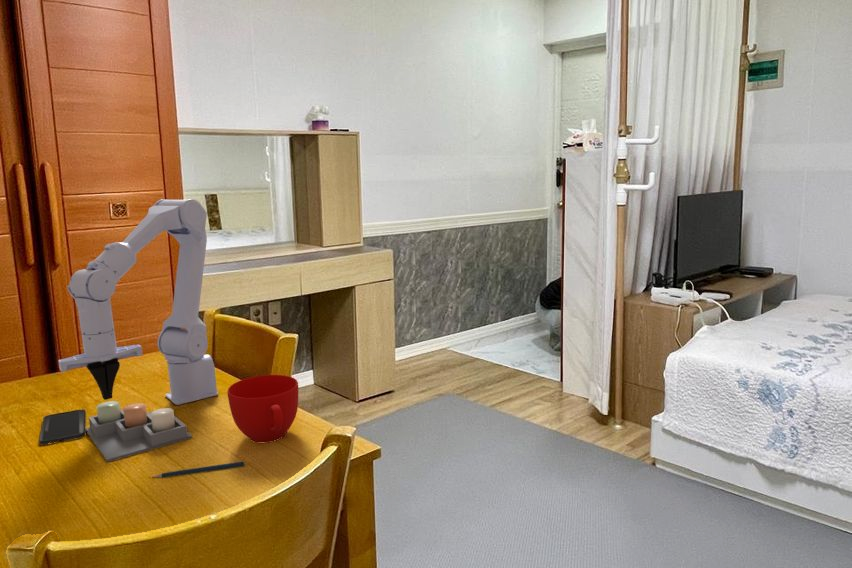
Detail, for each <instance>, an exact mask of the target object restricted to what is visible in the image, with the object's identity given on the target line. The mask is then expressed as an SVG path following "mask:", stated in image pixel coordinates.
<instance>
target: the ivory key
mask: <svg viewBox="0 0 852 568" xmlns="http://www.w3.org/2000/svg"><path fill="white" fill-rule="evenodd" d="M152 411H153V412H152ZM152 411H151V412H152V413H151V420H152V428H153V432H155V433H157V432H161V431H165V430H168V429H172V428H175V420H174V417H175V413H174V409H172V408H171V407H163V408H159V409H156V410H152Z"/></svg>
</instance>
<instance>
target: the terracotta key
mask: <svg viewBox="0 0 852 568" xmlns="http://www.w3.org/2000/svg"><path fill="white" fill-rule="evenodd" d="M146 406H147V405H146V404H145V403H142V402H138V403H131V404H128V405H125V406H124V407H123V408H122V409H123V412H124V420H125V426H126V427H136V426H140V425H144V424H146V423H147V413H148V412H147V407H146Z"/></svg>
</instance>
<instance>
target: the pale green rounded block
mask: <svg viewBox="0 0 852 568" xmlns="http://www.w3.org/2000/svg"><path fill="white" fill-rule="evenodd" d="M120 410H121V407H120V402H119V401H115V400H110V401H104V402H102V403H99V404H97V405H96V411H97V413H96V414H97V415H98V420H99V424H105V423H109V422H113V421H117V420H121V414H120Z"/></svg>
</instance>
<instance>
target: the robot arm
mask: <svg viewBox="0 0 852 568" xmlns="http://www.w3.org/2000/svg"><path fill="white" fill-rule="evenodd" d="M207 214H208V212H207V211H206V209H205V208H204V207H203V205H202V204H201V202H200V201H198V200H196V199H194V198H188V199H165V198H162V199H158V200H157V201H156V202H154V205H152V206H151V207H149V208H148V212H147V214H146V216H145V217H144V218H142V220H141V221H140V222H139V223H138V224H137V226H136V227H135V228H134V229H133V230H132V231H131V232H130V233H129V234H128V236H127V237H126V238H124V240H123V241H122V242H120V241H115V242H112V243H106V245H105V246H104V250H103V251H102V252H101V253H100V254H99V255H98V256H97V257H96V258H95V259H94V260H91V261H89V262H88V263H87V266H86V269H85V268H83V269H79V270H77V271H76V272H74V273H73V274H72V275H71V277H70V280H69V285H66V289H67V291H68V294H69V295H70V296H71V297H72V298H73V299H74V301H75V306H76V307H77V313H78V319H79V327H80V333H81V340H82V346H83V353H81V354H76V355H73V356H70V357H67V358H66V357H65V358H62V359H58V367H59V371H61V373H64V372H67V371H69V370H73V369H77V368H83V367H84V368H85V367H86V369H87V370H88V371H89V372H90V374H91V376H92V377H93V378H94V380H95V382H96V384H97V385H98V389H99V392H100V394H101V398H102V399H103V400H105V401H106V400H110V399H113V391H114V390H113V389H114V385H115V380H116V376H117V374H118V372H119V370H120V368H121V367H120V365H121V363H120V362H119V360H123V359H126V358H131V357H132V358H133V357H141V356H143V349H142V348H143V347H142V345H140V344H132V345H126V346H118V347H117V340H116V334H115V333H116V332H115V326H114V325H115V324H114V317H113V310H112V309H113V308H112V303H111V297H112V296H113V295H114V293H115V292H116V289H117V288H116V287H117V284H118V283H119V280H120V279H121V278H122V277H123V276H124V275H125V274H127V272H128V271H129V270H130V269H131V268H132V267H133V266H135V264H136V263H137V260H138V259H137V254H138V253H139V252H140V251H141V250H142V249H144V248H145V247H146V246H147V245H148V244H149V243H151V242H152V241H153V240H154V239H155V238H157V236H159V235H161V233H162V232H166V233H168V234H169V235H171V236H172V237H174V239H175V240H176V242H177V243H178V244H179V249H178V250H179V251H178V260H177V267H176V268H177V269H176V276H175V284H174V293H173V295H174V296H173V302H172V311H171V315H170V316H168V318H166V319H165V320H164V321H163V322H162V328H161V332H160V333H159V335H158V338H157V342H156V343H157V348H158V351H159V352H160V353H161V354H162V355H164V360H166V363H167V372H168V379H169V381H168V382H169V386H170V387H169V388H170V392H168V393H165V397H166V398H167V399H168V400H169V401H170V402H172V403H173V405H176V406H178V405H183V404H187V403H191V402H194V401H195V402H196V401H199V400H203V399H208V398H211V397H214V396H218V395H219V392H218V390H217V389H218V388H217V380H216V379H217V378H216V377H217V376H216V368H215V364H214V363H215V362H214V361H213V358H212V356H211V355H210V354H207V353H206V352H207V350H208V346H209V345H208V344H209V343H208V336H207V325H206V324H205V323H204V321H202V319H201V318H200V317H199V312H200V304H201V295H202V288H203V287H202V284H203V277H204V268H205V261H206V260H205V258H206V249H207V242H208V241H207V239H208V237H207V236H208V235H207V230H206V224H207V216H208V215H207Z"/></svg>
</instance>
